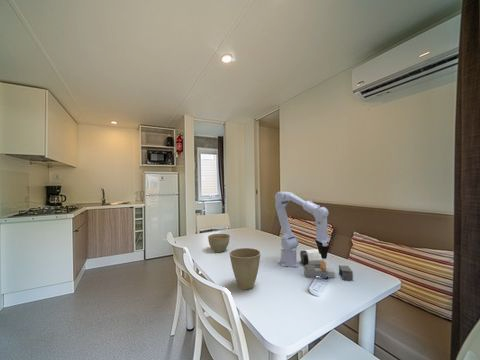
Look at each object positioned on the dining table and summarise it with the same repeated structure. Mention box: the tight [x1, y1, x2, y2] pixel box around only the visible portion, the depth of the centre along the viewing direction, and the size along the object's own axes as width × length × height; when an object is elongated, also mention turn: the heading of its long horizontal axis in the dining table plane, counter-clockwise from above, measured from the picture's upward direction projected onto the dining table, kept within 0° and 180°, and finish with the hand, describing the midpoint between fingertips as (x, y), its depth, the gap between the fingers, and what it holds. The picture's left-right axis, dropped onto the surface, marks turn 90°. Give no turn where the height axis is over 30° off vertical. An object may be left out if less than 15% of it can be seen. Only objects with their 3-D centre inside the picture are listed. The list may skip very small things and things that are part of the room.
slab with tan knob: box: [315, 260, 336, 279], centre depth 109 cm, size 13×4×7 cm, turn 78°
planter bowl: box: [207, 233, 231, 253], centre depth 154 cm, size 16×16×11 cm
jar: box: [299, 248, 326, 266], centre depth 125 cm, size 9×8×12 cm
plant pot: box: [229, 247, 261, 290], centre depth 100 cm, size 15×15×16 cm
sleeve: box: [303, 264, 328, 279], centre depth 109 cm, size 11×7×4 cm, turn 78°
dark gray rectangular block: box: [338, 265, 354, 282], centre depth 106 cm, size 4×7×4 cm, turn 168°
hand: (322, 256), depth 109 cm, fingers open, 7 cm apart
